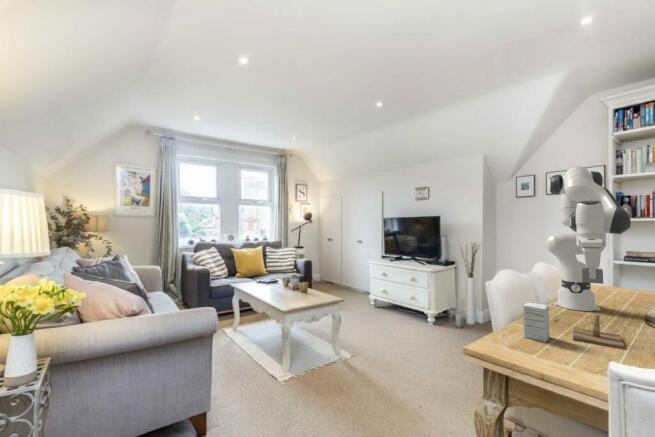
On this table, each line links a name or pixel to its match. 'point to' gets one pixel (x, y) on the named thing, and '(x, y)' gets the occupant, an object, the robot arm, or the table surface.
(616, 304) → the table surface
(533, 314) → the supplement box
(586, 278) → the collar
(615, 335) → the post board
